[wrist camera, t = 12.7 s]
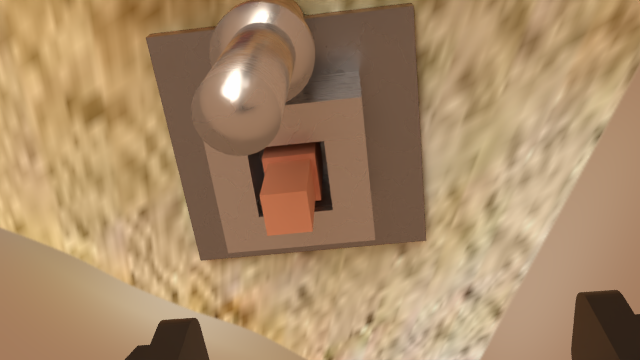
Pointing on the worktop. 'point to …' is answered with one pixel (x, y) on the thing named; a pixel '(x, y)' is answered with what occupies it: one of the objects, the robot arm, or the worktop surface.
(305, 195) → the stepped block
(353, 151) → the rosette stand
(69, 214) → the worktop surface
